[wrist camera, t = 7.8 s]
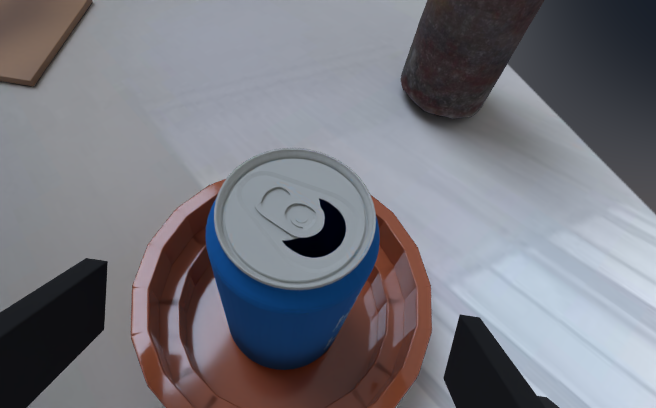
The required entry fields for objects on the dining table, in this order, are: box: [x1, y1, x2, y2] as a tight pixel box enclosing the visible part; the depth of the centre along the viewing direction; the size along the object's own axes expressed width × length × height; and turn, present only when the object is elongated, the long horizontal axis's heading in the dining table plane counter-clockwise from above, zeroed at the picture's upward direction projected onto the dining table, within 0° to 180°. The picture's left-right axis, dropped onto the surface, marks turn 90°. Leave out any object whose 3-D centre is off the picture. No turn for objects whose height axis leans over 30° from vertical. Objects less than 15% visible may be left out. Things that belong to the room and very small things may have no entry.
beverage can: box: [205, 148, 380, 370], centre depth 20 cm, size 6×6×12 cm
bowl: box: [131, 179, 432, 408], centre depth 23 cm, size 15×15×5 cm
